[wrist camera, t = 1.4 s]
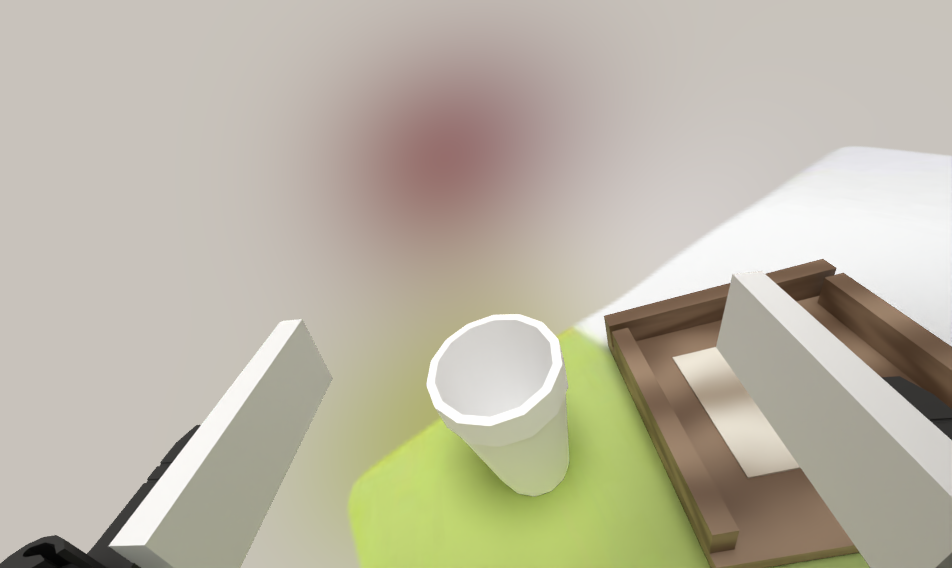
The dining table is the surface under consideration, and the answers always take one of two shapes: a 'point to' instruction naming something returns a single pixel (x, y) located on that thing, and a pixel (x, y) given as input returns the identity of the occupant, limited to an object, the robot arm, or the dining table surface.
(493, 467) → the foam cup
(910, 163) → the dining table surface
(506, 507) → the dining table surface
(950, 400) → the tray
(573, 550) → the dining table surface
